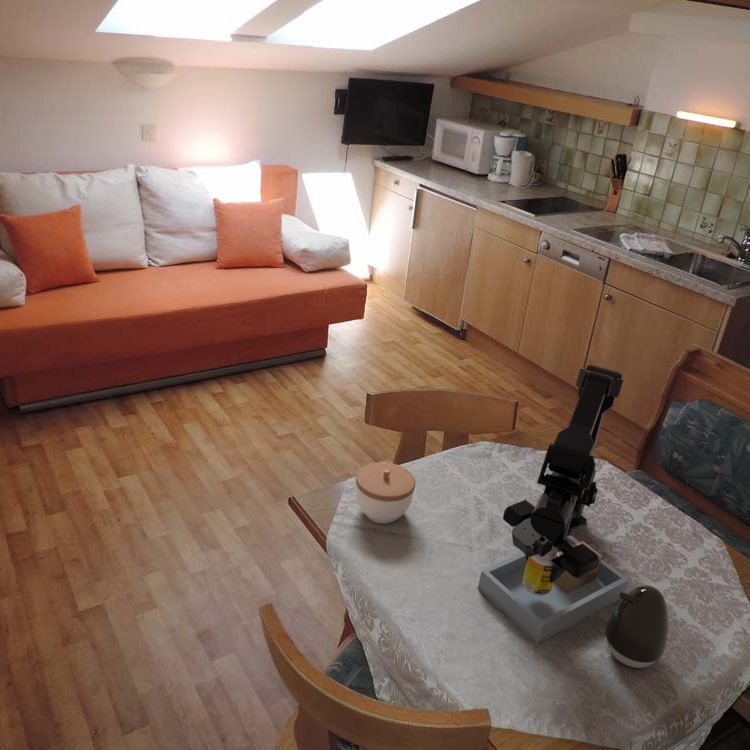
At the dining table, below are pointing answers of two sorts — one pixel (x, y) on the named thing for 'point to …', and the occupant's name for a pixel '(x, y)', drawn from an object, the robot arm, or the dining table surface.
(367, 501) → the lidded bowl
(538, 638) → the tray
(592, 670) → the dining table surface
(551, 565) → the supplement bottle
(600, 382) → the robot arm
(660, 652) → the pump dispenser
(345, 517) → the dining table surface
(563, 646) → the dining table surface
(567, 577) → the walnut box
